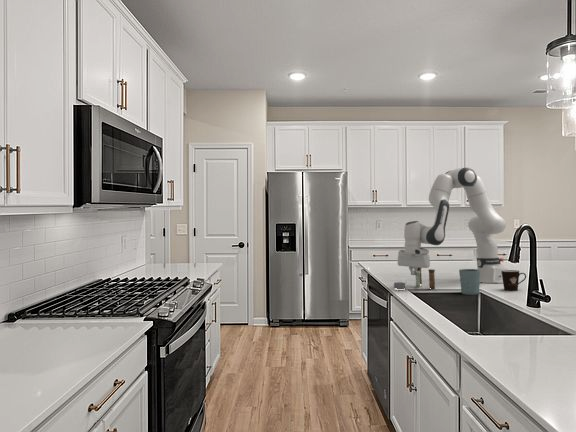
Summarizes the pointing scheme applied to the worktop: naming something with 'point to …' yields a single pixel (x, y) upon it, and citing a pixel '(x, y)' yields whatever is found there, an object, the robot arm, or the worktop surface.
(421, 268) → the hinge post
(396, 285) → the rubber block
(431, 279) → the post
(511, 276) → the coffee mug
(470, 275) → the teal cup
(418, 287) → the block
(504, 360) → the worktop surface
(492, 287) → the worktop surface
